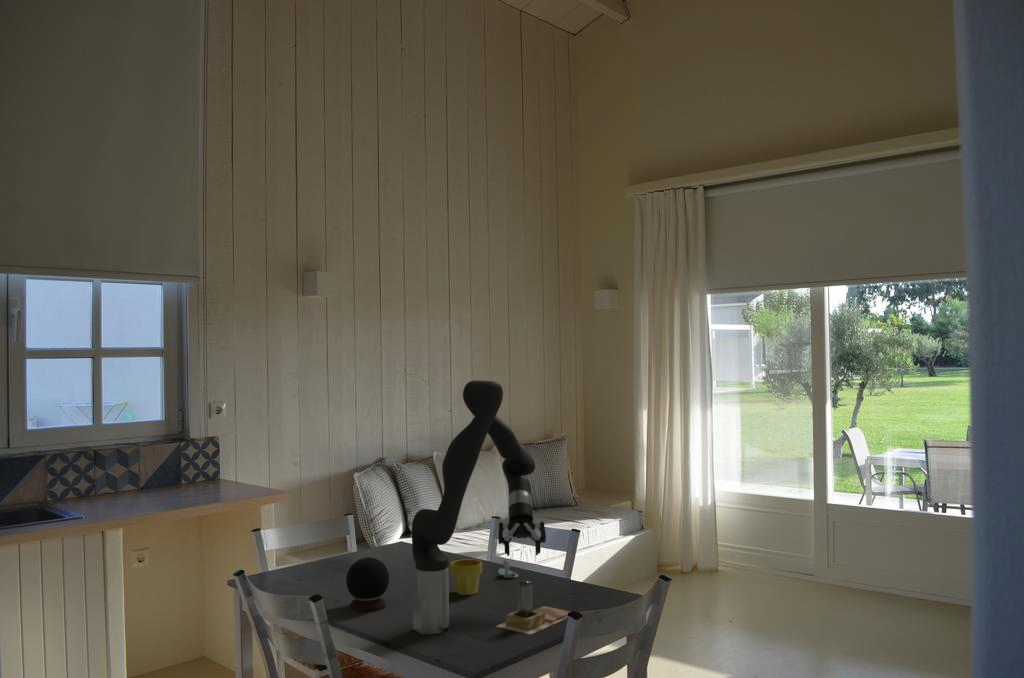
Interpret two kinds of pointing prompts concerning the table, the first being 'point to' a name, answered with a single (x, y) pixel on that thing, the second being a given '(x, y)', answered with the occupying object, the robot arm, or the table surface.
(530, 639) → the table surface
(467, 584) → the plant pot
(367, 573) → the black ball on stand
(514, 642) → the table surface
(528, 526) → the robot arm
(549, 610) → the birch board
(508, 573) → the pacifier
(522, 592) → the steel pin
